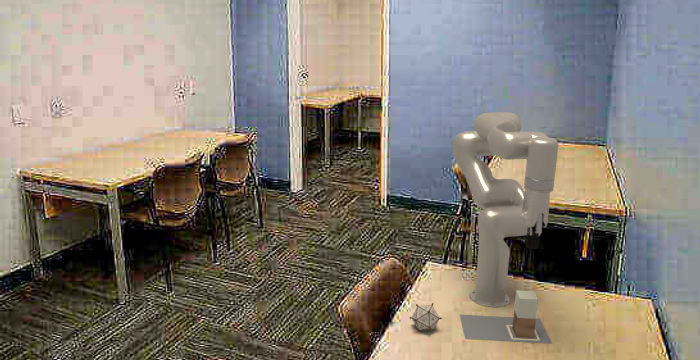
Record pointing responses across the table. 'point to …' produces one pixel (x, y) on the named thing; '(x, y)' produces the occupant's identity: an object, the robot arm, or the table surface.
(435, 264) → the table surface
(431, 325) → the game die
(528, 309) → the sage block
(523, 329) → the walnut block
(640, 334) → the table surface
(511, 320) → the board
